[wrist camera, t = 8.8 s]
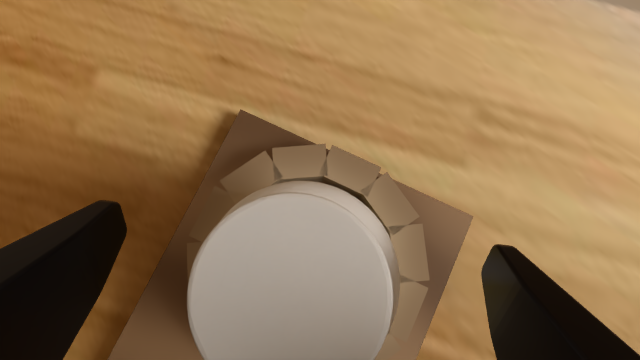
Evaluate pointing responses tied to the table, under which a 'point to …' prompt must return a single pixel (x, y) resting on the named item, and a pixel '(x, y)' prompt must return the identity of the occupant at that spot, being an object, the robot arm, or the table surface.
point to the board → (172, 273)
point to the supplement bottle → (294, 278)
